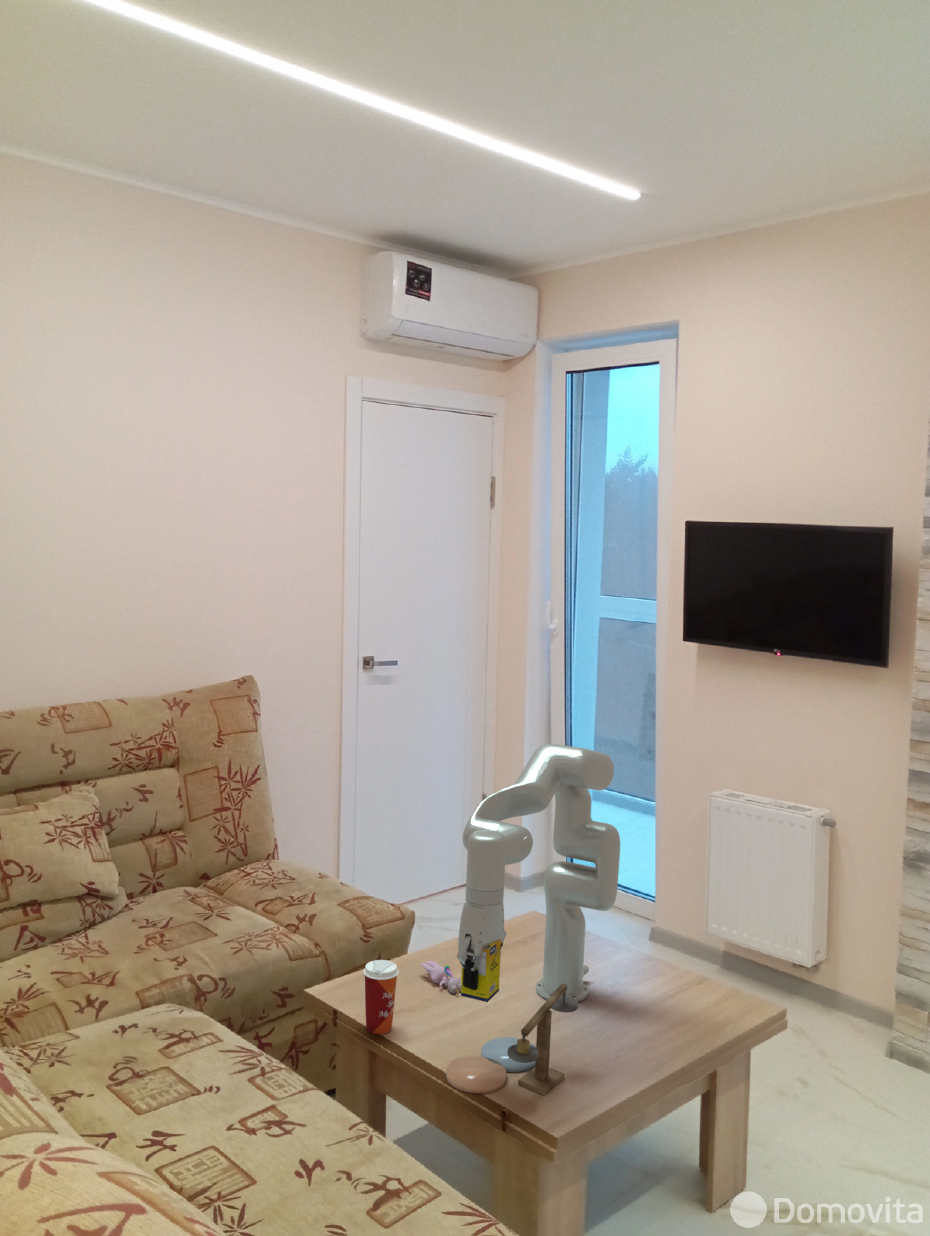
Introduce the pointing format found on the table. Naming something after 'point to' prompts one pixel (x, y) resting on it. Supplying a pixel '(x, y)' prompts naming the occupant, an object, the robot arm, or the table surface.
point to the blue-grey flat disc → (504, 1054)
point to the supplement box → (485, 974)
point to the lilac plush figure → (442, 976)
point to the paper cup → (380, 995)
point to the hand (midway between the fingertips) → (480, 981)
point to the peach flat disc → (476, 1074)
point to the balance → (541, 1044)
